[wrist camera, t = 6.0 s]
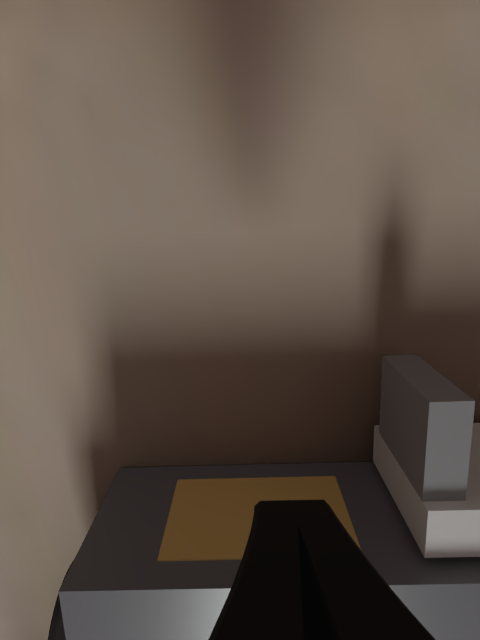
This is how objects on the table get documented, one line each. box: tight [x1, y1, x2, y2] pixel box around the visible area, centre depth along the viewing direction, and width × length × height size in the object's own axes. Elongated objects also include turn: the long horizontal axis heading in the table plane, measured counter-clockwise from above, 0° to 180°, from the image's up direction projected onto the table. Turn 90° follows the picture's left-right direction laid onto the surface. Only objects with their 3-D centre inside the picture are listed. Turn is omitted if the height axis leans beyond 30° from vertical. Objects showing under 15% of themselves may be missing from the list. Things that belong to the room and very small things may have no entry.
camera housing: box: [48, 462, 480, 640], centre depth 15 cm, size 19×9×7 cm, turn 92°
